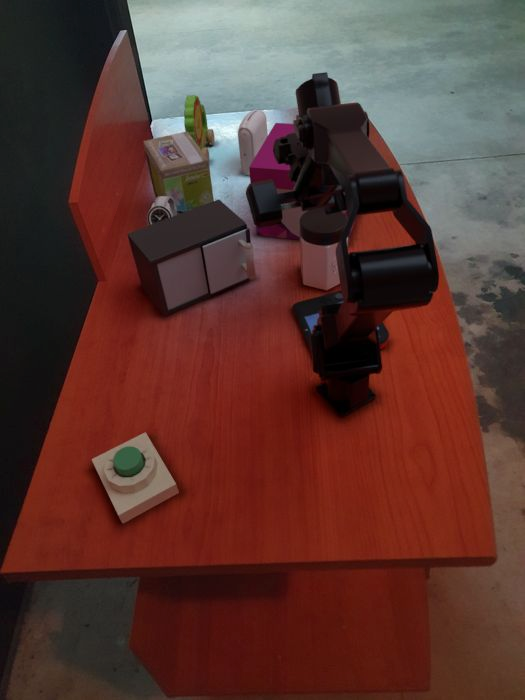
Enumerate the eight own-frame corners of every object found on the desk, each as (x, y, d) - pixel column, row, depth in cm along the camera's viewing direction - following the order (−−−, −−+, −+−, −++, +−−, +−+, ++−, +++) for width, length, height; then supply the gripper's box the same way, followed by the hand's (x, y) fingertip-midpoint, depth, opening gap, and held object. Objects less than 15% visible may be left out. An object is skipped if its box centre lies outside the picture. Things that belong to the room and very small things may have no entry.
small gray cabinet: (252, 278, 106) (246, 223, 97) (164, 317, 100) (150, 261, 91) (226, 253, 112) (218, 199, 103) (142, 288, 106) (126, 233, 98)
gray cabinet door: (264, 285, 102) (260, 238, 95) (220, 304, 99) (213, 257, 92) (252, 274, 104) (248, 227, 97) (210, 292, 102) (202, 246, 94)
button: (148, 468, 74) (145, 460, 72) (122, 482, 72) (119, 474, 71) (137, 449, 76) (134, 441, 75) (112, 462, 75) (108, 454, 73)
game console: (291, 308, 99) (290, 298, 97) (360, 293, 101) (361, 283, 99) (315, 366, 89) (315, 356, 87) (392, 349, 90) (394, 339, 89)
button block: (179, 492, 75) (173, 476, 72) (122, 524, 72) (114, 508, 69) (148, 441, 81) (142, 424, 78) (95, 468, 78) (87, 451, 76)
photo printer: (256, 177, 132) (252, 124, 124) (239, 175, 134) (234, 123, 125) (271, 156, 139) (268, 105, 130) (254, 154, 140) (250, 104, 131)
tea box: (219, 225, 119) (209, 158, 109) (173, 237, 117) (158, 171, 107) (198, 192, 129) (187, 128, 119) (155, 203, 127) (140, 139, 117)
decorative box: (348, 245, 111) (352, 174, 100) (255, 236, 115) (249, 167, 105) (363, 195, 123) (368, 127, 113) (279, 188, 128) (275, 122, 117)
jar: (317, 296, 101) (317, 240, 92) (290, 274, 106) (288, 218, 97) (356, 277, 104) (360, 220, 95) (328, 256, 109) (329, 200, 100)
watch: (153, 260, 112) (141, 211, 104) (164, 236, 117) (153, 188, 110) (180, 261, 111) (170, 212, 103) (190, 237, 117) (181, 189, 109)
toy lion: (195, 141, 148) (186, 80, 137) (216, 140, 147) (208, 79, 136) (185, 171, 137) (173, 108, 126) (207, 171, 136) (198, 107, 125)
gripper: (368, 106, 80) (339, 162, 96) (241, 128, 77) (231, 182, 92) (392, 178, 79) (358, 223, 94) (263, 203, 75) (249, 246, 91)
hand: (299, 217), depth 93 cm, fingers open, 9 cm apart
